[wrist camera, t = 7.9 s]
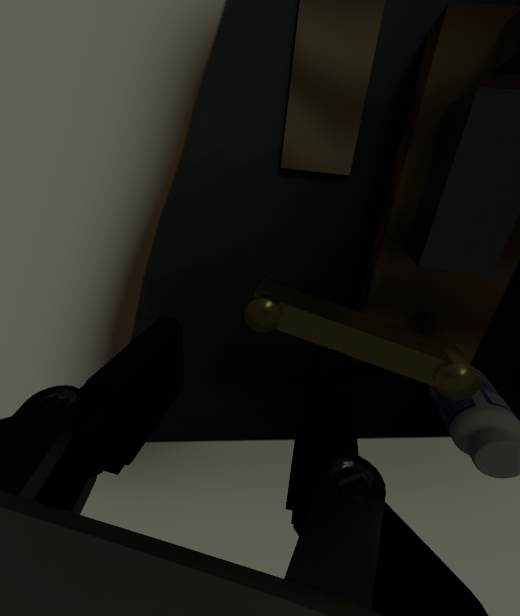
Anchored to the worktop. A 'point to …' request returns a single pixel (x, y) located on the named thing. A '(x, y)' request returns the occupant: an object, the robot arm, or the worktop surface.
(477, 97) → the black rectangular block
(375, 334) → the lever
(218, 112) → the worktop surface
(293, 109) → the cork pad
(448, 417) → the pill bottle
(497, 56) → the plane body
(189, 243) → the worktop surface
